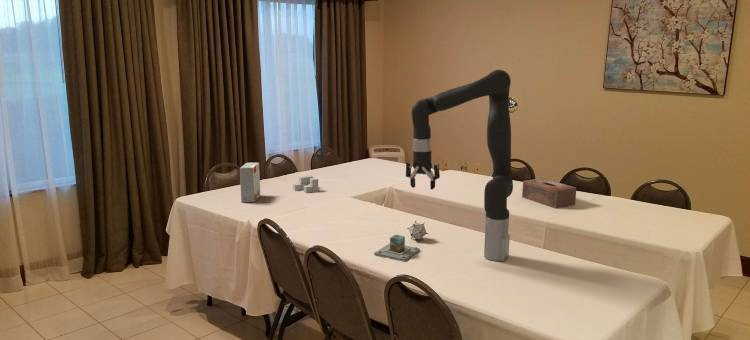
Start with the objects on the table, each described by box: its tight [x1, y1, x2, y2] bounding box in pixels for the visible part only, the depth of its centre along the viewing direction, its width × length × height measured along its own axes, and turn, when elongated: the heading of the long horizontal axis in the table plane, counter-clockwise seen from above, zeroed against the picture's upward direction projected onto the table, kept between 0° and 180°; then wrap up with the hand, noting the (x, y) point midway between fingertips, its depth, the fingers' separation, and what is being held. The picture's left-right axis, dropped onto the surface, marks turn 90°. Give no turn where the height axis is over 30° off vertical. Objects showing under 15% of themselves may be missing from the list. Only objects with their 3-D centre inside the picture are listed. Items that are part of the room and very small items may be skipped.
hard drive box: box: [239, 162, 261, 203], centre depth 306 cm, size 16×8×20 cm, turn 179°
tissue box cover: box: [521, 177, 577, 209], centre depth 300 cm, size 26×14×10 cm, turn 27°
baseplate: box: [373, 242, 421, 262], centre depth 224 cm, size 14×14×2 cm
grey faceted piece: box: [406, 220, 429, 242], centre depth 240 cm, size 9×8×10 cm
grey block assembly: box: [292, 175, 319, 194], centre depth 325 cm, size 12×12×8 cm
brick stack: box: [389, 234, 406, 253], centre depth 224 cm, size 4×4×6 cm
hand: (422, 188), depth 221 cm, fingers open, 8 cm apart
